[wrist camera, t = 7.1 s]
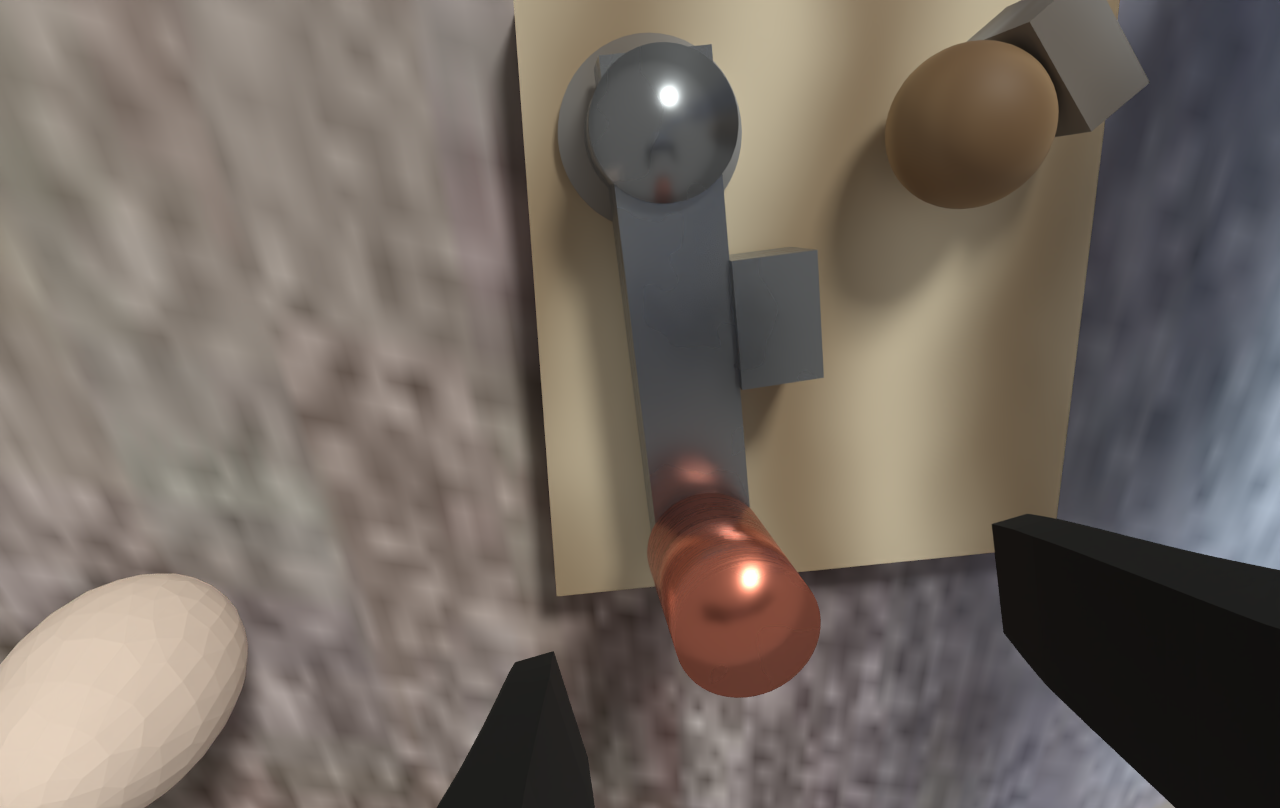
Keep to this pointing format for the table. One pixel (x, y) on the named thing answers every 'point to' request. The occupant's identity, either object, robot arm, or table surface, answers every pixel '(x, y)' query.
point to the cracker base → (842, 263)
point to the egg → (118, 694)
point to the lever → (703, 362)
